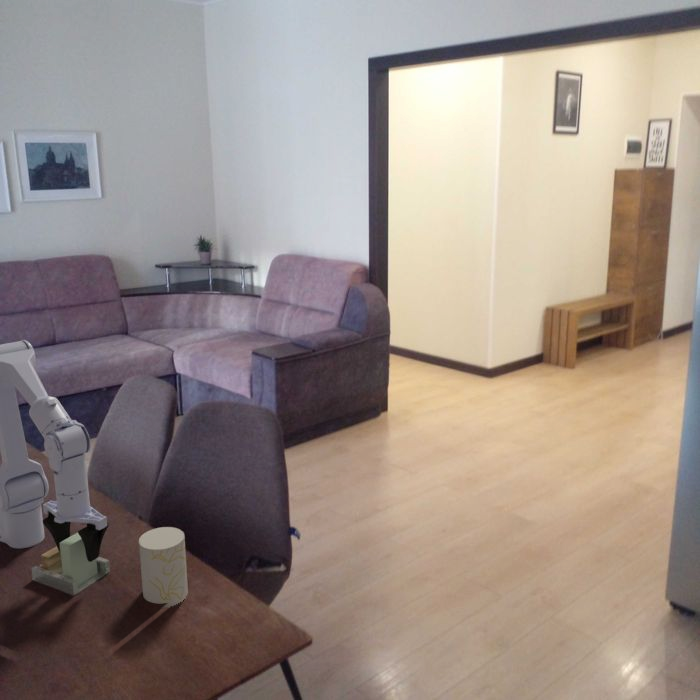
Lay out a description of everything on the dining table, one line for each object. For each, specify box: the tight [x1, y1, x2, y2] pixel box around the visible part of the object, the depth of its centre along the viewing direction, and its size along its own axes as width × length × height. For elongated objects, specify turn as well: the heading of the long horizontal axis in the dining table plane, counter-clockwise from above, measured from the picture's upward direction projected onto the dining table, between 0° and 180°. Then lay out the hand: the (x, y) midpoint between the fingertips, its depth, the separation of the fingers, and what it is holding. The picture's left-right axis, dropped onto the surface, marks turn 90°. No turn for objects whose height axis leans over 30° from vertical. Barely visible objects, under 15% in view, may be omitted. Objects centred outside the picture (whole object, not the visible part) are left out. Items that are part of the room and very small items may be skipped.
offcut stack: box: [38, 545, 63, 574], centre depth 138 cm, size 2×6×4 cm, turn 153°
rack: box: [30, 556, 111, 596], centre depth 137 cm, size 11×9×4 cm
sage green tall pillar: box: [60, 531, 98, 586], centre depth 135 cm, size 2×6×9 cm, turn 153°
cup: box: [138, 526, 189, 609], centre depth 131 cm, size 8×8×12 cm
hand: (78, 554), depth 134 cm, fingers open, 7 cm apart
